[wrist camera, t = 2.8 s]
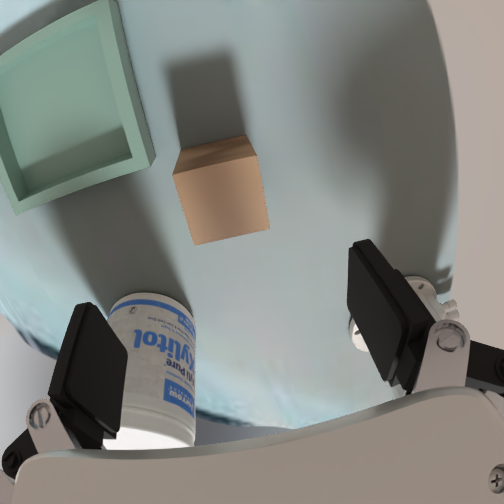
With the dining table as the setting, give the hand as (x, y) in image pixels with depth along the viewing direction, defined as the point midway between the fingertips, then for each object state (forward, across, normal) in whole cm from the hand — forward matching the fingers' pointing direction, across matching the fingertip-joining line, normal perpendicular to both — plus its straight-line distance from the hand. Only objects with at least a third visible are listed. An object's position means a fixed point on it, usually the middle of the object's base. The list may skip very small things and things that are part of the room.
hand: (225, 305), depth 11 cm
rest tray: (+15, +10, -8) cm, 20 cm away
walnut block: (+15, 0, +1) cm, 15 cm away
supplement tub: (+15, +10, +15) cm, 24 cm away
